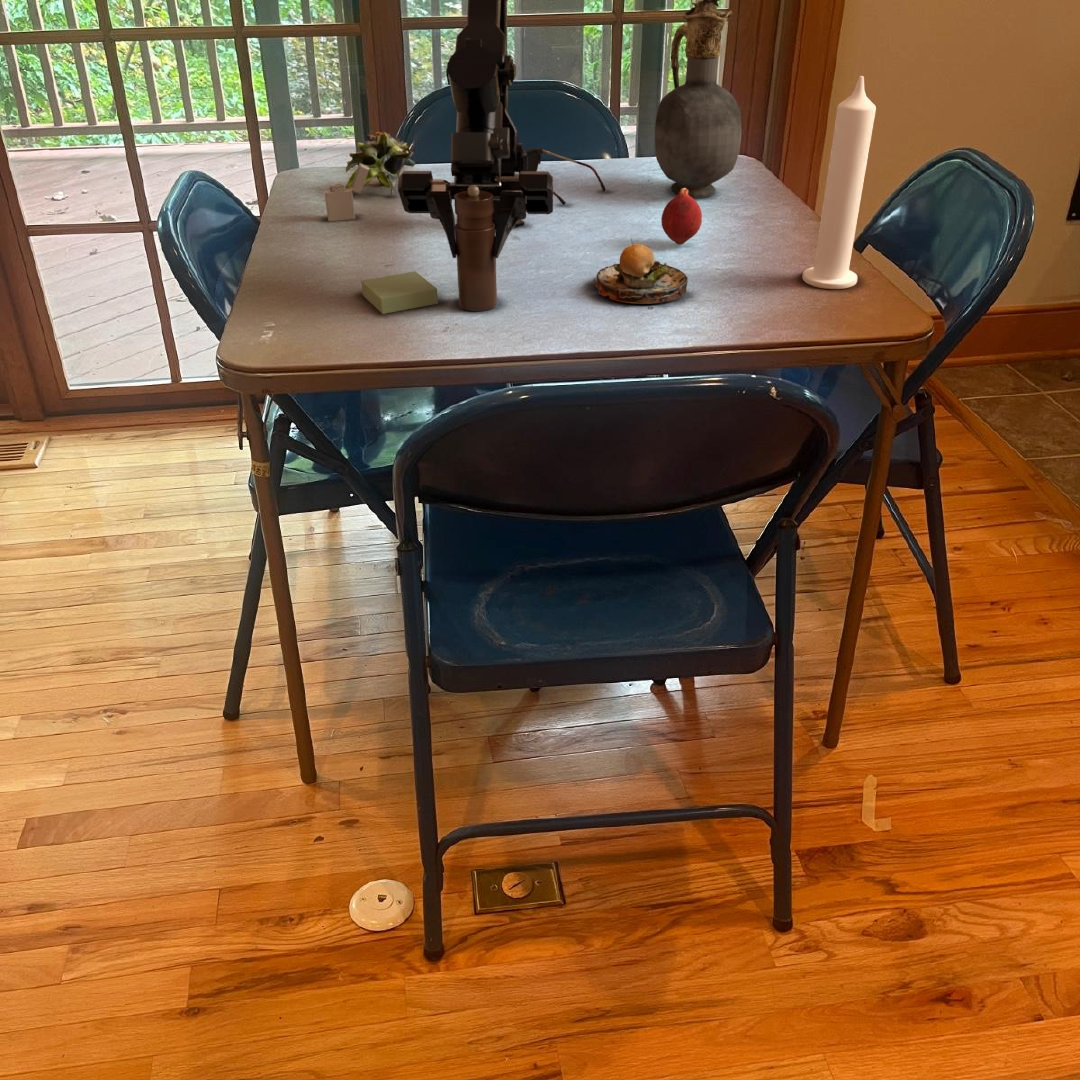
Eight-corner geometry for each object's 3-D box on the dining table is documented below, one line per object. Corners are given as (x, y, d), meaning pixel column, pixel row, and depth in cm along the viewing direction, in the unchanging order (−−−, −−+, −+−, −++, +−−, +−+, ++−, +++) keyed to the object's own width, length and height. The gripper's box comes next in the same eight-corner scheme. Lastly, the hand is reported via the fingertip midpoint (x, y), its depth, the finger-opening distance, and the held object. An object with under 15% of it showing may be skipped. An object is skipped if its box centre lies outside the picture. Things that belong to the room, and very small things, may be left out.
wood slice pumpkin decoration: (704, 294, 129) (710, 236, 125) (631, 312, 124) (633, 253, 120) (648, 268, 138) (651, 213, 133) (577, 284, 132) (577, 228, 128)
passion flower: (385, 216, 177) (414, 153, 175) (405, 221, 168) (436, 153, 166) (328, 185, 171) (357, 118, 169) (345, 187, 162) (376, 117, 160)
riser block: (362, 295, 130) (360, 280, 128) (416, 285, 132) (415, 270, 131) (382, 314, 124) (380, 298, 123) (438, 303, 127) (437, 288, 126)
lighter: (328, 221, 157) (322, 168, 152) (327, 218, 158) (321, 165, 154) (374, 217, 158) (369, 164, 154) (372, 214, 160) (367, 162, 155)
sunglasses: (539, 174, 179) (541, 145, 176) (610, 195, 171) (613, 165, 168) (487, 190, 171) (487, 160, 168) (558, 213, 163) (560, 182, 160)
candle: (826, 292, 129) (859, 83, 115) (791, 276, 135) (818, 74, 121) (868, 283, 132) (905, 77, 118) (831, 268, 137) (863, 69, 123)
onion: (698, 252, 143) (703, 195, 139) (658, 249, 144) (661, 193, 140) (701, 239, 148) (705, 184, 143) (662, 237, 149) (665, 182, 144)
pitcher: (681, 207, 162) (696, -3, 145) (637, 178, 177) (646, -15, 160) (742, 201, 164) (764, -6, 148) (694, 173, 179) (709, -17, 163)
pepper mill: (453, 301, 127) (446, 182, 119) (487, 295, 129) (483, 177, 121) (468, 314, 124) (462, 192, 116) (503, 307, 126) (500, 187, 117)
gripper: (393, 100, 117) (386, 223, 114) (552, 100, 116) (550, 224, 114) (408, 153, 128) (402, 267, 125) (554, 154, 127) (551, 268, 124)
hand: (474, 256), depth 122 cm, fingers closed on pepper mill, 5 cm apart
